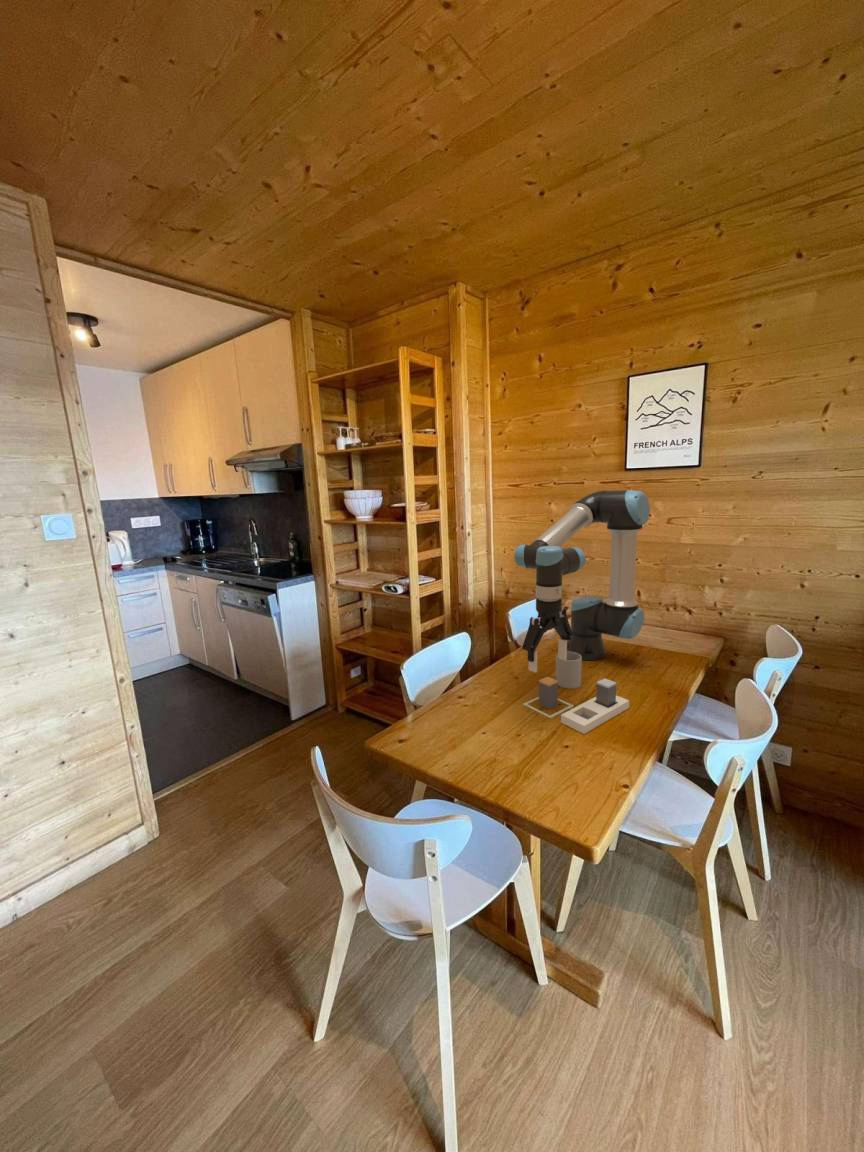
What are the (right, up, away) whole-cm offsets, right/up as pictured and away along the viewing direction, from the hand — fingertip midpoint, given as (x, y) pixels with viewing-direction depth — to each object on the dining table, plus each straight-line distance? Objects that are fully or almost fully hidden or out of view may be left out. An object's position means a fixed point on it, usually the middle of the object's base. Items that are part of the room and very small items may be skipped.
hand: (547, 664), depth 141 cm
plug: (+1, -14, +3) cm, 14 cm away
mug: (+13, -10, +19) cm, 25 cm away
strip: (+13, -15, -4) cm, 21 cm away
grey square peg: (+17, -13, -1) cm, 22 cm away
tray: (+1, -14, +3) cm, 15 cm away
